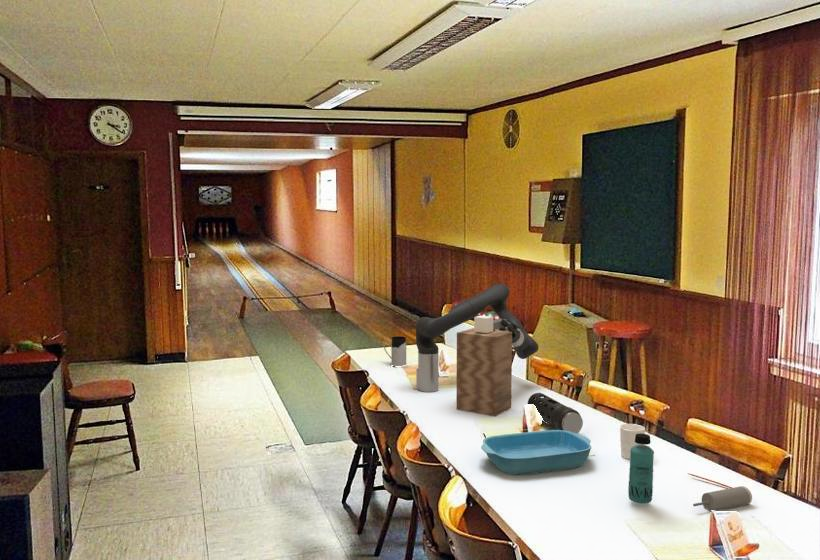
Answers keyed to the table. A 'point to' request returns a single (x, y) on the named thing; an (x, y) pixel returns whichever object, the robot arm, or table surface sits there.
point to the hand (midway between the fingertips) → (497, 320)
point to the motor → (724, 497)
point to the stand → (484, 371)
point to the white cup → (629, 437)
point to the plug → (486, 324)
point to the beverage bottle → (641, 470)
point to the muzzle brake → (557, 413)
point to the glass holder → (397, 350)
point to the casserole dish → (537, 451)
